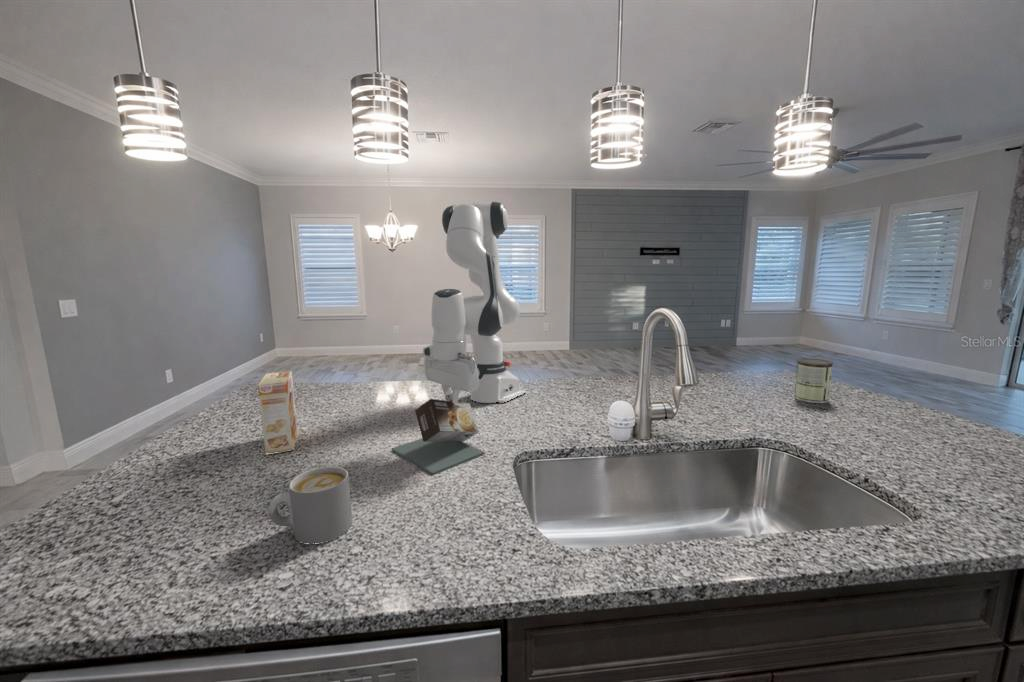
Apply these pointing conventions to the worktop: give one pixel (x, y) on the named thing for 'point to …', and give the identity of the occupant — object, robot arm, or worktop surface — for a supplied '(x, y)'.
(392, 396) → the worktop surface
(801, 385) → the coffee can
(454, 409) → the coffee box
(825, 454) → the worktop surface
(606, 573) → the worktop surface
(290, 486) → the coffee mug
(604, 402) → the worktop surface
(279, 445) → the coffeecake box
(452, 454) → the mat
